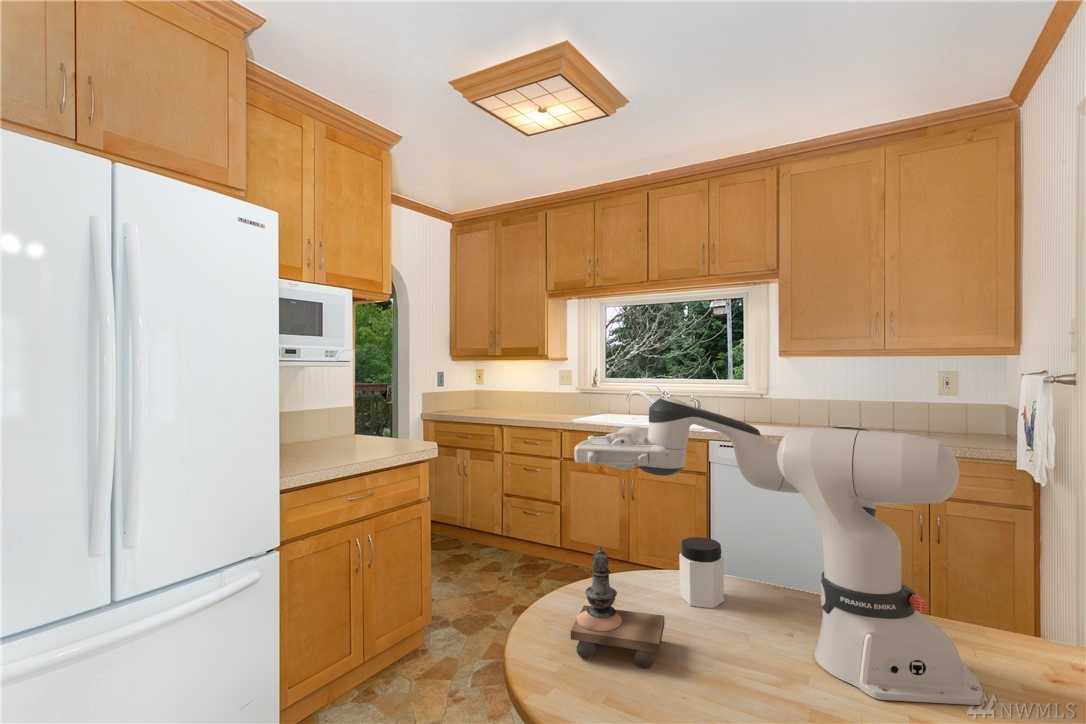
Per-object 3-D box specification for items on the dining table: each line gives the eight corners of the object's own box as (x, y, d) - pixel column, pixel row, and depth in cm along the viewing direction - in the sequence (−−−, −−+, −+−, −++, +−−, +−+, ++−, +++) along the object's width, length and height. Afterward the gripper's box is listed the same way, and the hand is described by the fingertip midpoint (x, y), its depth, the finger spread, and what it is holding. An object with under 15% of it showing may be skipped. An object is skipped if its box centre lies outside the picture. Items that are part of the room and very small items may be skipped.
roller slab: (664, 640, 97) (664, 614, 97) (659, 671, 88) (658, 642, 88) (584, 628, 102) (584, 604, 102) (570, 656, 92) (570, 629, 92)
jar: (731, 606, 110) (730, 548, 110) (695, 611, 108) (694, 552, 108) (708, 588, 119) (707, 534, 119) (674, 592, 117) (673, 538, 117)
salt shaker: (619, 618, 96) (618, 552, 96) (586, 619, 96) (585, 552, 96) (614, 603, 102) (613, 540, 102) (583, 604, 102) (582, 541, 102)
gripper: (670, 465, 122) (664, 478, 109) (583, 461, 128) (568, 473, 115) (670, 438, 122) (664, 447, 109) (582, 435, 128) (567, 444, 115)
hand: (614, 461), depth 112 cm, fingers open, 8 cm apart
